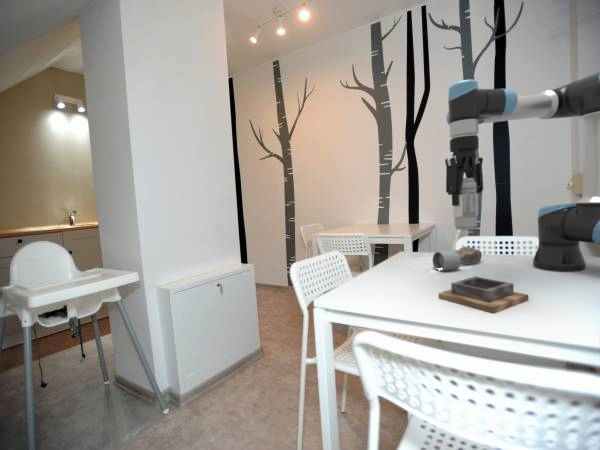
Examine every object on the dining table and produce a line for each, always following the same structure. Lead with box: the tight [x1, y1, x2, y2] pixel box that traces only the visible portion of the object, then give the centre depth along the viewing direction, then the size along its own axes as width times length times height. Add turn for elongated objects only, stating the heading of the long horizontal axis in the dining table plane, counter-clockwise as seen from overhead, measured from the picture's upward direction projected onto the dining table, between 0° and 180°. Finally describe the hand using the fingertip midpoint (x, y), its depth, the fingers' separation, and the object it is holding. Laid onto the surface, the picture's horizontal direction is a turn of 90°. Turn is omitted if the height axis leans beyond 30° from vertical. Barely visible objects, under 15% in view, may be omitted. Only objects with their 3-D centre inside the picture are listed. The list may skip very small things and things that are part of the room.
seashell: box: [454, 246, 483, 265], centre depth 136 cm, size 14×9×10 cm
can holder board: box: [438, 276, 530, 314], centre depth 91 cm, size 16×16×4 cm
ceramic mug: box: [432, 250, 462, 272], centre depth 128 cm, size 11×8×8 cm
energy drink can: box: [453, 177, 478, 231], centre depth 96 cm, size 6×6×15 cm
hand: (465, 215), depth 97 cm, fingers closed on energy drink can, 6 cm apart
